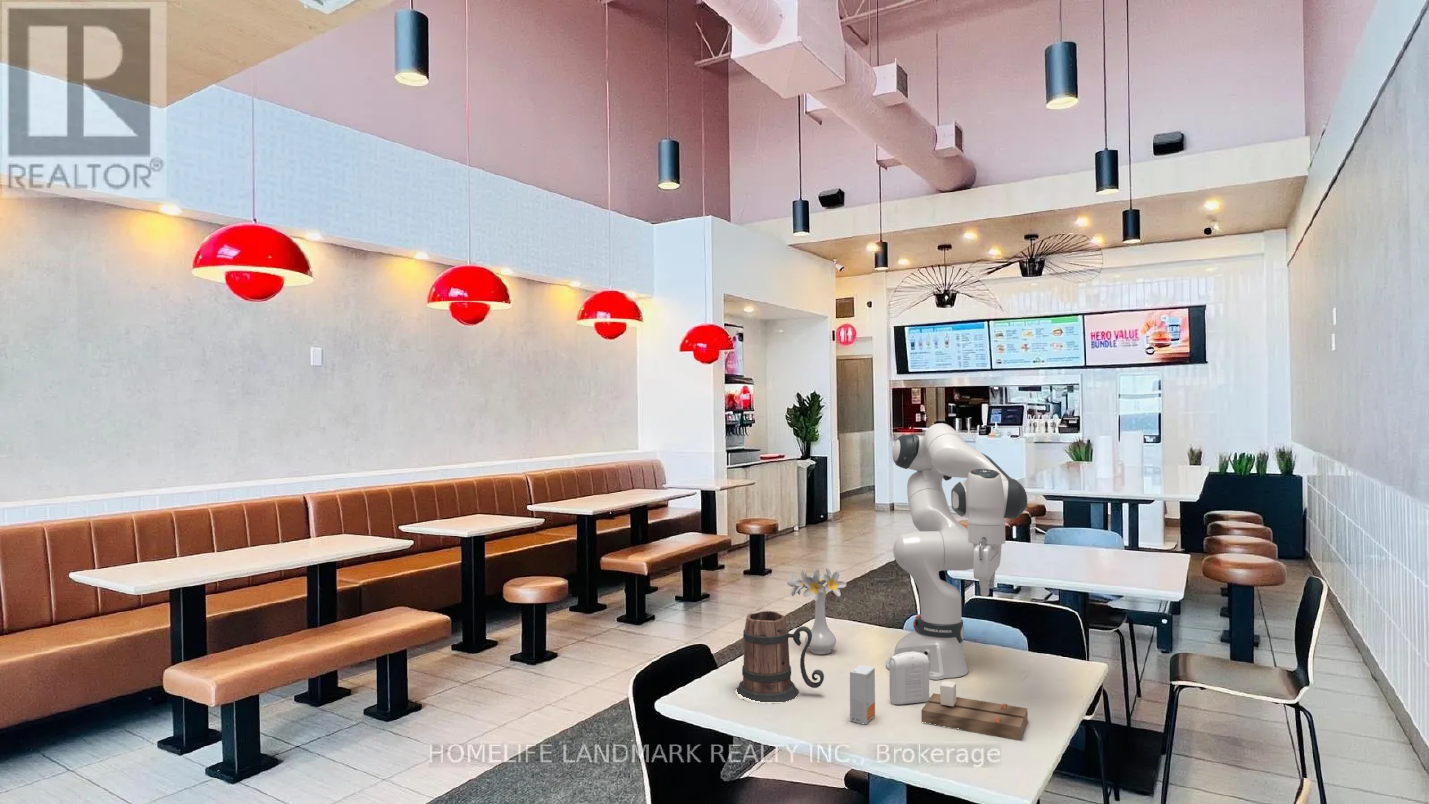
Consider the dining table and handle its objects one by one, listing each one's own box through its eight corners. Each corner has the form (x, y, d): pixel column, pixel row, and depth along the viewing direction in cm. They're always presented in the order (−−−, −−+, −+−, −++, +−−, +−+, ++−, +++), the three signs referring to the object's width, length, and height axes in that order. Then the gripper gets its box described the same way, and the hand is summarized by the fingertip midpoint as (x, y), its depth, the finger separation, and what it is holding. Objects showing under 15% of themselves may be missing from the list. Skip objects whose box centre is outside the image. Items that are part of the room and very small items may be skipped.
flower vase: (797, 642, 251) (795, 563, 251) (853, 649, 243) (852, 567, 243) (782, 654, 240) (780, 571, 240) (841, 662, 232) (839, 576, 231)
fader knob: (940, 711, 190) (940, 685, 190) (943, 706, 193) (943, 680, 193) (953, 713, 188) (953, 687, 188) (956, 708, 191) (956, 682, 191)
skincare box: (866, 725, 187) (866, 674, 187) (849, 722, 189) (848, 671, 189) (876, 716, 192) (875, 667, 192) (859, 713, 194) (858, 664, 194)
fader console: (921, 722, 188) (921, 709, 188) (933, 705, 198) (933, 692, 198) (1020, 740, 177) (1020, 726, 177) (1027, 721, 188) (1027, 707, 188)
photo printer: (923, 696, 204) (923, 648, 204) (932, 702, 200) (931, 653, 200) (887, 700, 202) (886, 651, 202) (894, 706, 198) (894, 657, 198)
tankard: (727, 700, 203) (726, 622, 203) (743, 678, 220) (742, 606, 220) (819, 709, 197) (817, 628, 197) (828, 685, 213) (827, 610, 213)
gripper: (994, 542, 186) (995, 601, 185) (1004, 530, 204) (1006, 584, 204) (966, 540, 188) (967, 599, 188) (979, 529, 207) (980, 583, 206)
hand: (987, 591), depth 196 cm, fingers open, 8 cm apart
